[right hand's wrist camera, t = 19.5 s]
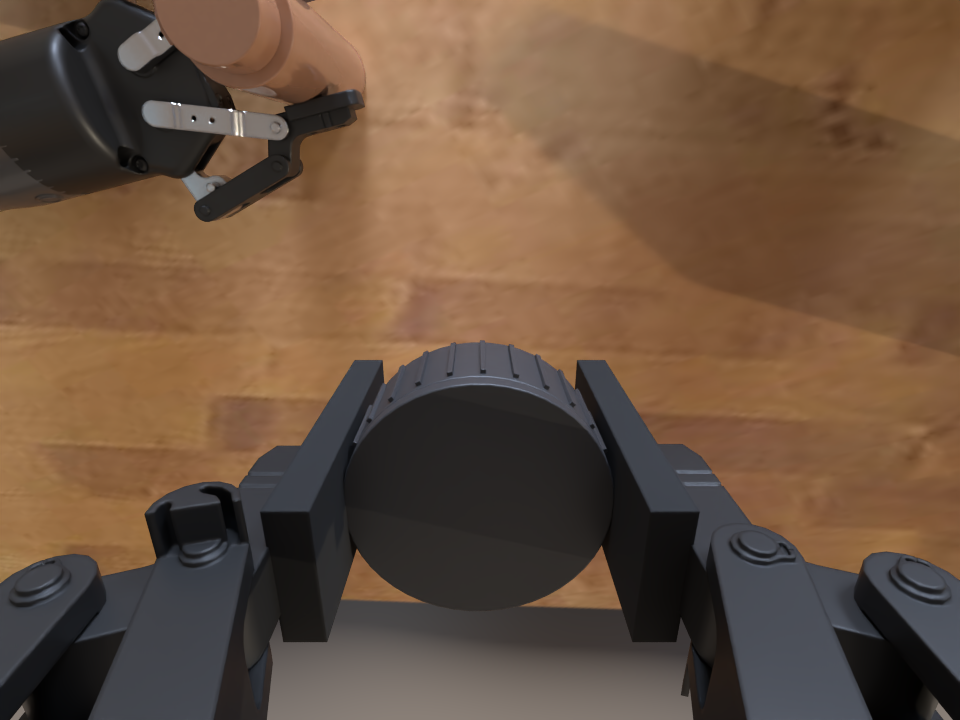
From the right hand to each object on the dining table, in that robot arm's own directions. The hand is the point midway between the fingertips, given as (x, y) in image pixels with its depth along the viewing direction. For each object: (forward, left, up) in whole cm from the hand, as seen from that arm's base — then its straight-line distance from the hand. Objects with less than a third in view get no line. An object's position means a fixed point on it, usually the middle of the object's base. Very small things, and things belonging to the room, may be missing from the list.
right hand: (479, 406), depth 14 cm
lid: (0, 0, +4) cm, 4 cm away
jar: (-8, -13, -24) cm, 28 cm away
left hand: (-9, -11, -17) cm, 22 cm away
